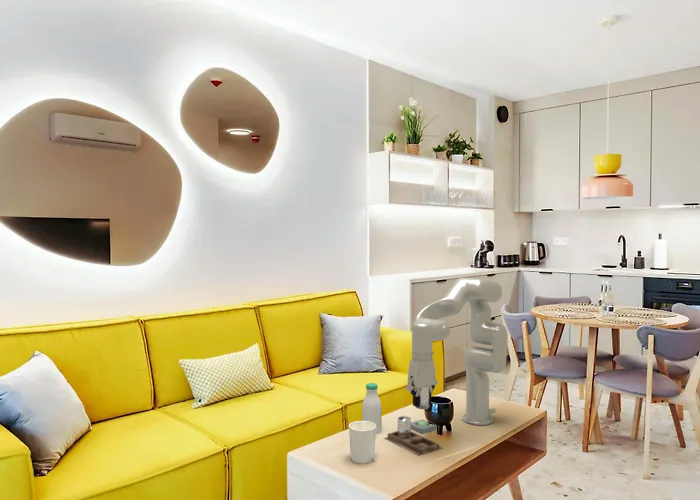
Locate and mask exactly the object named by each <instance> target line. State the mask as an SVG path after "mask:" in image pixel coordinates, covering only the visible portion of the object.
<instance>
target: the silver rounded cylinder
mask: <svg viewBox="0 0 700 500" xmlns="http://www.w3.org/2000/svg"><path fill="white" fill-rule="evenodd" d="M415 392H416V389H415ZM419 397H420V407H415V408H416V409H419V410H427V409H429V408H430V404H429V386H427V387H423V388H420V391H419Z"/></svg>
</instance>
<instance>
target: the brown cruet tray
mask: <svg viewBox="0 0 700 500" xmlns="http://www.w3.org/2000/svg"><path fill="white" fill-rule="evenodd" d="M383 439H384V440H386V441H387V442H390V443H392V444H394V445H396V446H398V447H400V448H402V449H404V450H406V451H408V452H409V453H412V454H413V455H416V456H418V457H420V456H424V455H426V454H429V453H432V452H435V451H439V450H442V449H444V448H443V447H441V446H440V444H439V443H438V442H436V441H433V440H431V439H428V438H426V437H424V436H422V435H421V434H417V432H416V433H415V432H413V431H411V438H407V439H404V440H403V439H401V438H399V437H398V430H396V431H393V432H389V433H387V437H385V438H383Z"/></svg>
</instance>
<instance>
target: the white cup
mask: <svg viewBox="0 0 700 500" xmlns="http://www.w3.org/2000/svg"><path fill="white" fill-rule="evenodd" d="M348 431H349V434H348V435H349V447H350V448H349V452H350V460H351V461H352V462H354V463H358V464H370V463H372V462H373V461H374V459H375V451H376V435H377V434H376V424H374V423H373V422H369V421H362V420H357V421H352V422H350V423H349V425H348Z"/></svg>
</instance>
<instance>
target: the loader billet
mask: <svg viewBox="0 0 700 500" xmlns="http://www.w3.org/2000/svg"><path fill="white" fill-rule="evenodd" d="M411 423H412V418H411V417H410V416H408V415H407V416H406V415H402V416H401V415H400V416H397V431H398V437H399V438H401V439H403V440H404V439H407V438H411V432H412V429H411Z"/></svg>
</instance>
